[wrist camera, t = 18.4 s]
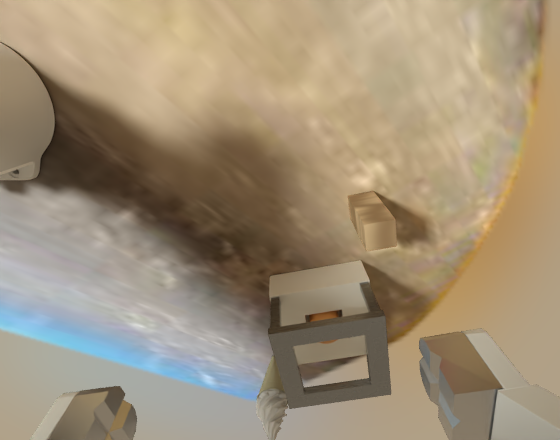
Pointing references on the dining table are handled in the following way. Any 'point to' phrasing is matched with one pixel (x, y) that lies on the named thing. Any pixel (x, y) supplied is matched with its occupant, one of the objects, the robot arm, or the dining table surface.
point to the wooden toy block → (372, 221)
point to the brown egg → (322, 317)
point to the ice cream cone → (271, 401)
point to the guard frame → (328, 330)
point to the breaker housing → (322, 305)
